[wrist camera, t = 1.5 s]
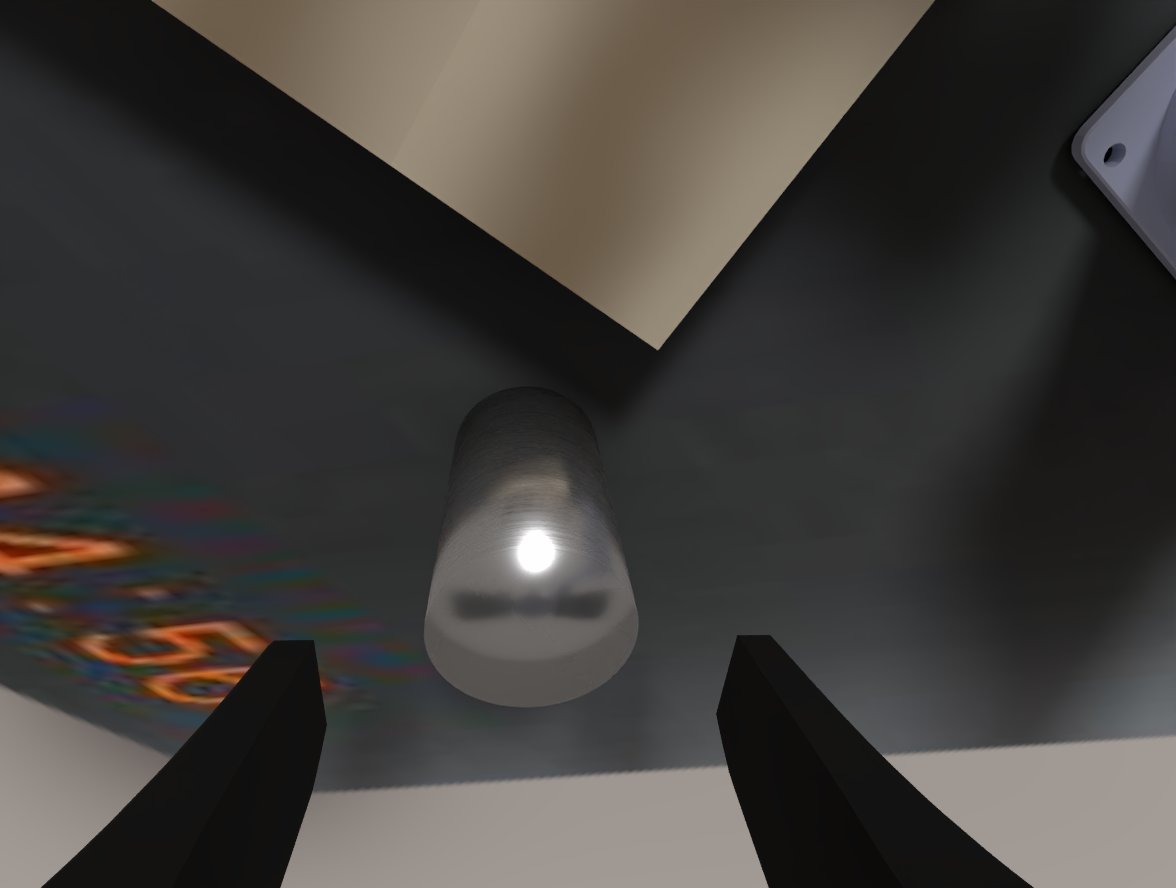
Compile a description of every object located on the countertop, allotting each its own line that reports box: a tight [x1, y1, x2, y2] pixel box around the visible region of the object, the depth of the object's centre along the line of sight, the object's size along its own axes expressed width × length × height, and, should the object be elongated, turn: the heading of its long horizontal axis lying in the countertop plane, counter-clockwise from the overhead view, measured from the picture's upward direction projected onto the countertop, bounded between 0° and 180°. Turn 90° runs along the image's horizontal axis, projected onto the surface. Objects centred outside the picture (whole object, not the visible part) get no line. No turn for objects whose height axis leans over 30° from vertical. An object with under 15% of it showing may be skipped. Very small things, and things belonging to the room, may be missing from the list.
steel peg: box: [424, 387, 639, 707], centre depth 15 cm, size 4×4×7 cm
